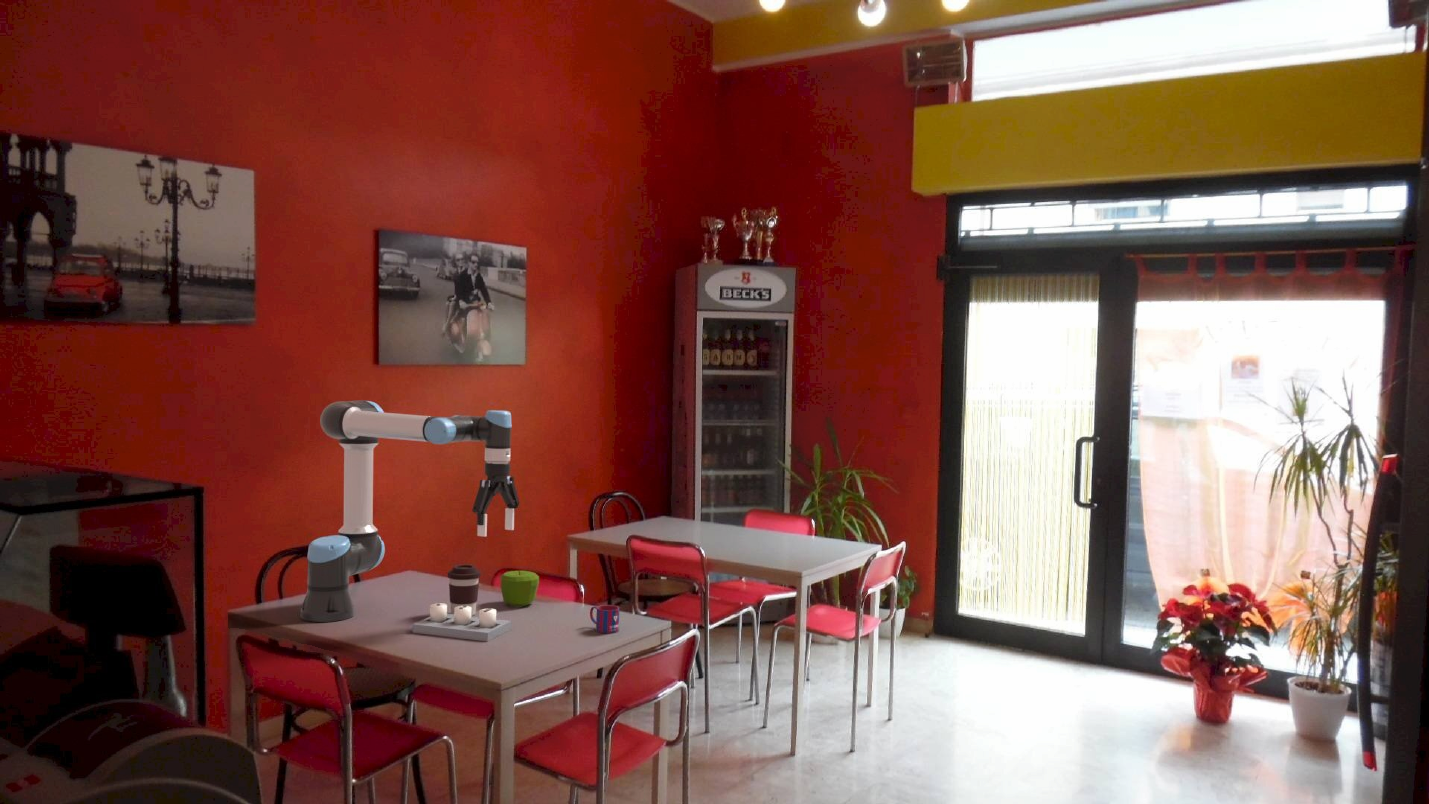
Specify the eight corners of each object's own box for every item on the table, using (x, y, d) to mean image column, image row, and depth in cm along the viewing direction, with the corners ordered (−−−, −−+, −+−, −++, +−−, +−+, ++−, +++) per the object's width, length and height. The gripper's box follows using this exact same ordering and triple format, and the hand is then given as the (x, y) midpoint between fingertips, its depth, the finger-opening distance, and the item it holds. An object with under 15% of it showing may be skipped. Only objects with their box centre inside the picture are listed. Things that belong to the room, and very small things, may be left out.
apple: (544, 606, 315) (545, 571, 315) (508, 610, 308) (509, 575, 308) (528, 598, 326) (529, 564, 325) (493, 602, 319) (494, 567, 318)
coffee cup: (486, 614, 303) (487, 566, 303) (462, 620, 295) (463, 571, 294) (463, 609, 308) (465, 562, 308) (439, 615, 300) (440, 566, 300)
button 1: (426, 621, 284) (426, 605, 284) (435, 617, 289) (435, 601, 289) (441, 622, 283) (441, 606, 283) (449, 619, 288) (450, 603, 287)
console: (412, 632, 280) (412, 624, 280) (438, 620, 294) (439, 612, 294) (487, 641, 274) (487, 632, 274) (511, 629, 287) (511, 620, 287)
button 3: (475, 626, 280) (476, 610, 280) (484, 622, 285) (484, 606, 284) (490, 628, 279) (491, 612, 278) (498, 624, 283) (499, 608, 283)
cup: (606, 634, 285) (607, 611, 285) (583, 628, 291) (584, 605, 291) (623, 630, 290) (624, 607, 290) (600, 624, 296) (601, 601, 296)
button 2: (450, 624, 282) (451, 607, 282) (459, 620, 287) (460, 604, 287) (465, 625, 281) (466, 609, 281) (474, 621, 285) (474, 605, 285)
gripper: (482, 466, 279) (480, 540, 280) (532, 459, 302) (530, 528, 303) (460, 464, 282) (459, 537, 283) (511, 458, 305) (510, 526, 306)
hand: (495, 532), depth 293 cm, fingers open, 13 cm apart
